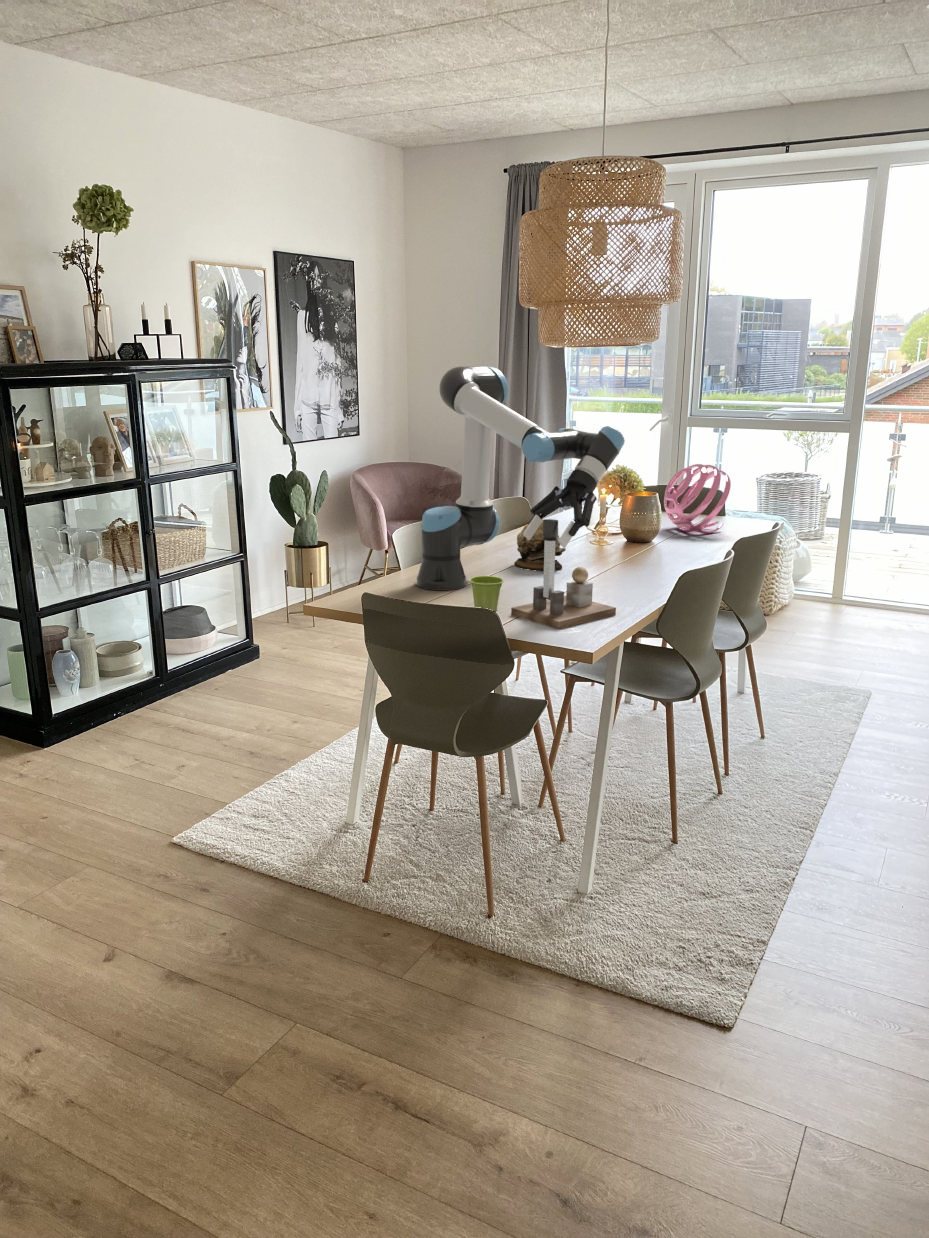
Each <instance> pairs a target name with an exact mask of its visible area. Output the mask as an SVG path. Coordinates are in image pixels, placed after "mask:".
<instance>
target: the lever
mask: <svg viewBox="0 0 929 1238" xmlns="http://www.w3.org/2000/svg"><path fill="white" fill-rule="evenodd" d="M558 531H559V520H558V519H552V518H549V519H547V518H546V519H545V520H543V535H542V540H545V544H544V571H543V585H542V586H543V594H542V598H544V599H546V600H550V593H551V592H553V591H555V571H556V570H555V560H556V556H555V541H556V540H558V534H559V532H558Z"/></svg>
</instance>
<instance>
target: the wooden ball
mask: <svg viewBox="0 0 929 1238" xmlns="http://www.w3.org/2000/svg"><path fill="white" fill-rule="evenodd" d="M571 578H572V581H575V582H577V583H583V582H585V581H586V582H587V580H588V578H589V572H588V569H586V568H584V567H582V566H578V567H575V568H574V569H573V570H572V572H571Z"/></svg>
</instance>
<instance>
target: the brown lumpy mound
mask: <svg viewBox="0 0 929 1238" xmlns="http://www.w3.org/2000/svg"><path fill="white" fill-rule="evenodd" d="M541 520H542V523H541V524H540V526H539V527H538V529H537V530H536V532H535V533H534V535H533V536H532V538H531V539H530V540H528V539H527V538H526V537H525V536H524V535H523V533H524V531H525V530H526V528H527V527H528V523H526V524H525V525H524V527H523V528H522V530H521V531H520V532H519V533H518V534H517V535H516V545H517V549H516V550H517V551H518V553H519V555H520V558H517V560H516V561H514V562H513V566H514V565H515V566H516V567H515V566H514V567H515V568H517V567H518V568H517V569H521V568H522V569H521V570H525V569H529V570H528V571H533V570H536V571H535V572H544V544H545V540H542V535H543V520H546V519H545V517H544V518H542V519H541ZM559 533H560V532H559V530H558V540H559V539H560V535H559ZM558 540H556V541H555V557H559V556H562V555H563V553H564V552H565V551H566V550H567V549H566V547H565V548H564V547H560V546H561V544H560V543H559V542H558ZM561 569H563V565H562V564H561V563H560V562H559V560H558V559H555V571H559V570H561Z"/></svg>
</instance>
